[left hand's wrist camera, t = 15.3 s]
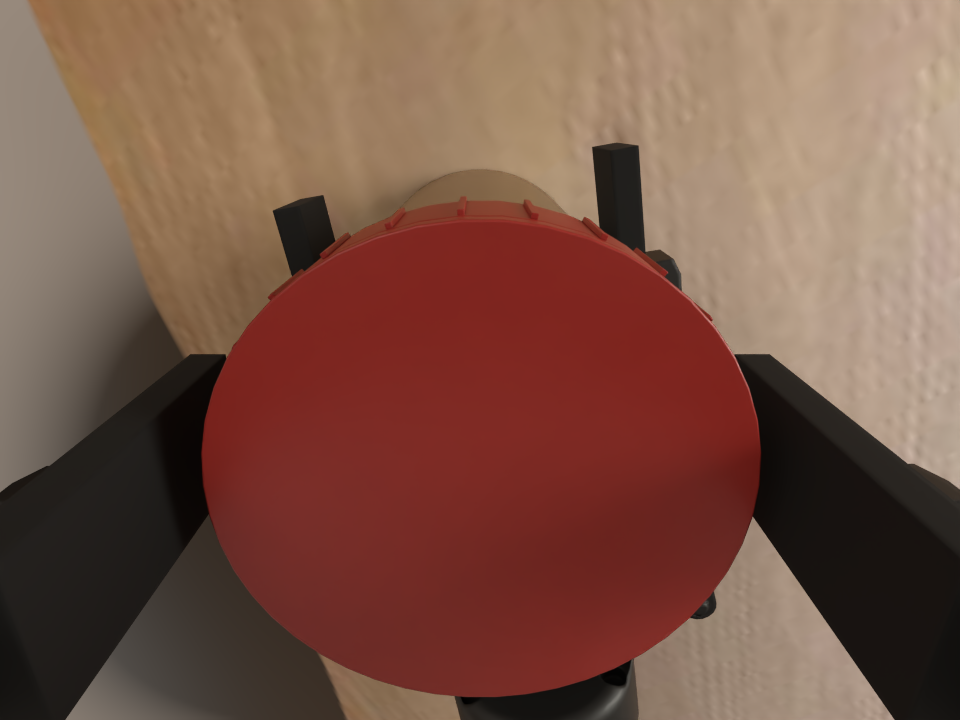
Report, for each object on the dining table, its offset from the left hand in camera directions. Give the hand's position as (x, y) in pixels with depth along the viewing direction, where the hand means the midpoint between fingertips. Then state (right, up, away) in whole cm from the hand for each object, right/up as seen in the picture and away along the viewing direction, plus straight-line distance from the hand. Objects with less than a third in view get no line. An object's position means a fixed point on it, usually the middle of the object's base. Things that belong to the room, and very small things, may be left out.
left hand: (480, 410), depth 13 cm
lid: (0, -1, -3) cm, 3 cm away
